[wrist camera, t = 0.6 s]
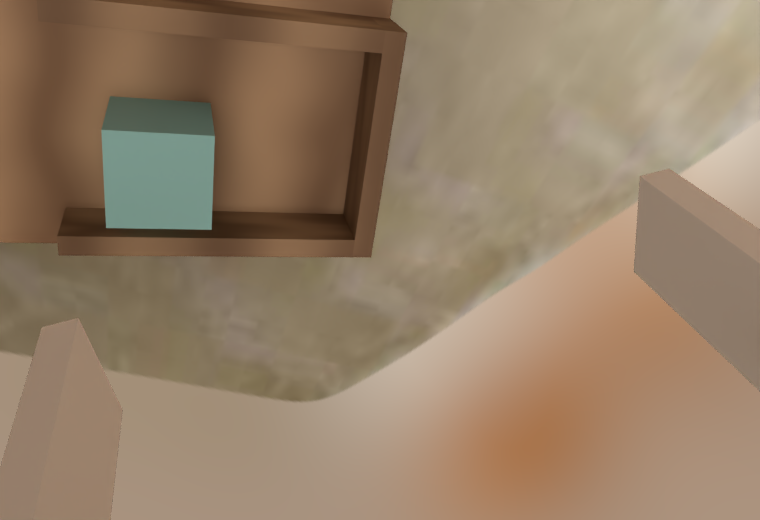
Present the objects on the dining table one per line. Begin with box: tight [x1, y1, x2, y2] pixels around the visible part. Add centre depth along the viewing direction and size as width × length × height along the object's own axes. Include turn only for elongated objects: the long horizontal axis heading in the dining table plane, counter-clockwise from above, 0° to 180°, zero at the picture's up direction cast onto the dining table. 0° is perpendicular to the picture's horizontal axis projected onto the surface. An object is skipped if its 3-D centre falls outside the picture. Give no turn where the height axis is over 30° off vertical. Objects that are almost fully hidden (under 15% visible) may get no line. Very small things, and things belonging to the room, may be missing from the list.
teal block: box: [101, 96, 215, 230], centre depth 32 cm, size 4×4×4 cm
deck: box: [0, 0, 407, 257], centre depth 31 cm, size 34×14×6 cm, turn 81°
